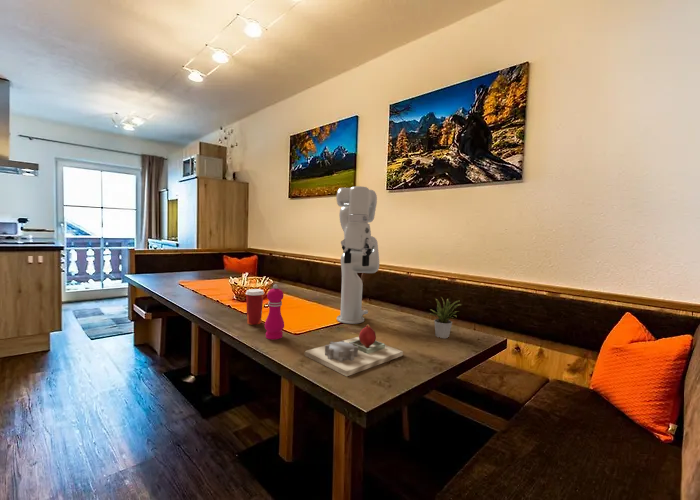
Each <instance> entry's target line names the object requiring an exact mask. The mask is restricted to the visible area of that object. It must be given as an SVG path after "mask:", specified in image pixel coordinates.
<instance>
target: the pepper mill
mask: <svg viewBox="0 0 700 500" xmlns="http://www.w3.org/2000/svg"><path fill="white" fill-rule="evenodd" d="M266 297H267V299H268V301H267V302H268V307H269V311H268V315H267V317H266V319H265V322H264V329H265V330H266V332H265V338H266V339H268V340H280V339H282V338H283V337H284V335H283V334H284V333H283V329H284V328H285V322H284V319H283V316H282V311H281V307H282V305H283V301H282V300H283V299H284V292H283V290H282V289H280V288H279V286H278V284H276V283H275V284H273V286H272V288H271V289H269V290H268V292H267V293H266Z"/></svg>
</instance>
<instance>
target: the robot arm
mask: <svg viewBox="0 0 700 500" xmlns="http://www.w3.org/2000/svg"><path fill="white" fill-rule="evenodd" d="M336 204H337V205H338V207H340V209H339V223H340V226H341V230H342V231H343V235H344V236H343V240H341V241H340V244H341V250H342V251H343V253H342V254H341V256H340V268H341V269H340V270H341V287H340V288H341V291H340V312H339V313H340V314H339V315H337V317H336V320H337V322H340V323H343V324H350V325H352V324H353V325H354V324H355V325H356V324H361V323H364V322H365V317H364V315H367V314H369V310H368V309H362V306H363V305H362V304H363V303H362V301H363V286H364V285H363V280H362V278H361V277H360V276H359V275H358V273H359V274H360V273H363V274H364V273H365V274H375V273H376V272H378V271H379V269H380V253H379V244H378V240H377V238H376V237H375V236H372V231H371V224H370V223H372V222H373V221H374V219H375V216H376V208H377V204H378V195H377V193H376V191H375V190H373V189H369V187H367V186H360V185H357V186H356V185H355V186H352V187H339V188H338V190H337V192H336Z"/></svg>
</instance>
